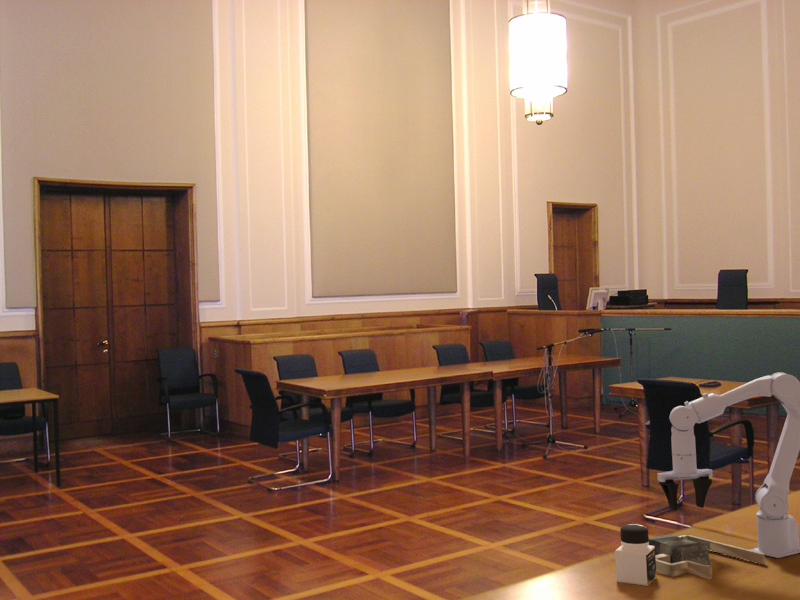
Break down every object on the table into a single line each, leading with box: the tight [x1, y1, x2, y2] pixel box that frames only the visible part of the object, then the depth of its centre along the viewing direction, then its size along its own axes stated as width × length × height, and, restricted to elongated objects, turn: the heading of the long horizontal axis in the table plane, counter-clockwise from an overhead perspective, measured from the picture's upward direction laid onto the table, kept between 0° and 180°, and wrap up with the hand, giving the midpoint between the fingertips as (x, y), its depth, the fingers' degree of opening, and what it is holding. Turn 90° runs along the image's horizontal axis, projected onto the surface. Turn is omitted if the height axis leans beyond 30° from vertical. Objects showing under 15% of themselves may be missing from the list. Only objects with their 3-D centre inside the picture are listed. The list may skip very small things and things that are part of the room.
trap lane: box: [655, 534, 766, 580], centre depth 196 cm, size 24×23×2 cm
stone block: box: [648, 534, 712, 566], centre depth 198 cm, size 9×14×5 cm, turn 19°
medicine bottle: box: [614, 523, 657, 587], centre depth 184 cm, size 7×7×12 cm
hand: (686, 508), depth 207 cm, fingers open, 7 cm apart
